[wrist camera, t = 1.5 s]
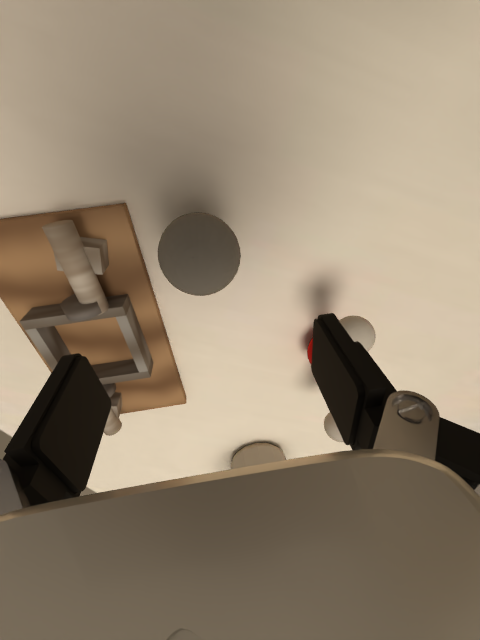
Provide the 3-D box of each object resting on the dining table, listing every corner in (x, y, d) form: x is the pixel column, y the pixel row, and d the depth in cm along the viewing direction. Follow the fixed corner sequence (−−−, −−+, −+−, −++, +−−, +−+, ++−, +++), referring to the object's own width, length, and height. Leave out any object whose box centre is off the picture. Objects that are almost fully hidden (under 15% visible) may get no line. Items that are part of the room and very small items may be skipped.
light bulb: (154, 229, 26) (133, 275, 18) (196, 178, 24) (194, 203, 16) (202, 269, 29) (204, 325, 21) (244, 227, 27) (263, 269, 19)
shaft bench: (-39, 223, 24) (-90, 243, 20) (125, 203, 24) (110, 218, 20) (85, 413, 39) (72, 448, 34) (186, 397, 39) (184, 429, 35)
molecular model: (290, 286, 31) (323, 342, 23) (342, 273, 31) (393, 324, 23) (305, 388, 41) (331, 452, 33) (344, 378, 41) (380, 440, 33)
